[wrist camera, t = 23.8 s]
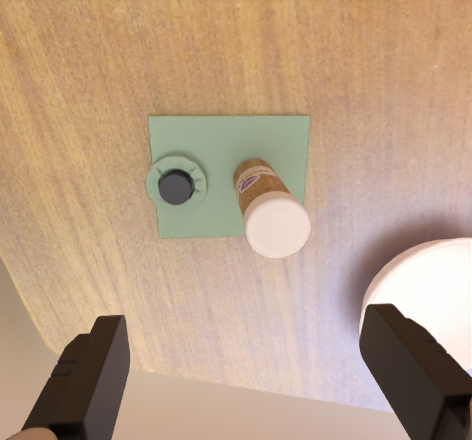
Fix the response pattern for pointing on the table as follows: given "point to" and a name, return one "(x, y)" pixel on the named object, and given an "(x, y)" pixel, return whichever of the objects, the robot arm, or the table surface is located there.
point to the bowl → (431, 292)
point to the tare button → (175, 187)
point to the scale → (220, 166)
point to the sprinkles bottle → (269, 211)
